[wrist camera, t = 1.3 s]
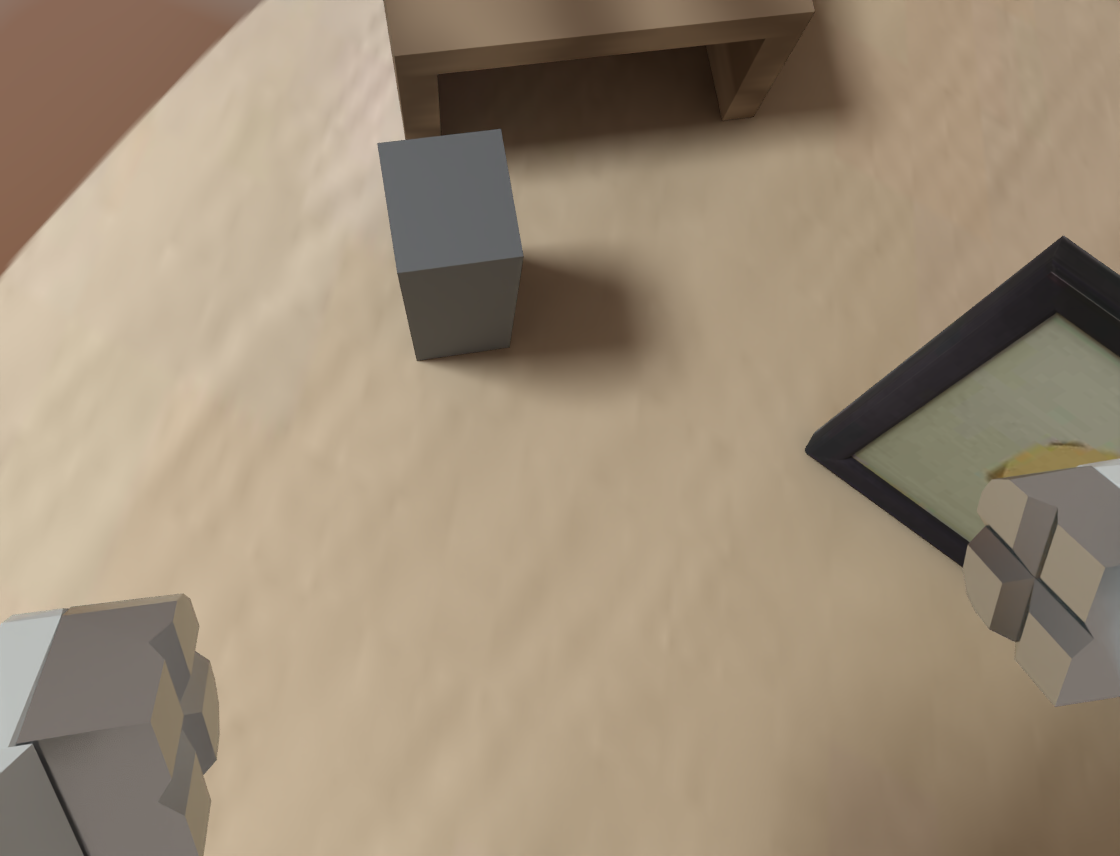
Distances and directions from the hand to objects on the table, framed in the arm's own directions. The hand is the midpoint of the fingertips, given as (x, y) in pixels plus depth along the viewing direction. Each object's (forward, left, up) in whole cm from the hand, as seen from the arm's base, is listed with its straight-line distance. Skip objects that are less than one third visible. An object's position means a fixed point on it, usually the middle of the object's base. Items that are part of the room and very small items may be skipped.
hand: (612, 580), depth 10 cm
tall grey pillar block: (0, -13, -30) cm, 32 cm away
